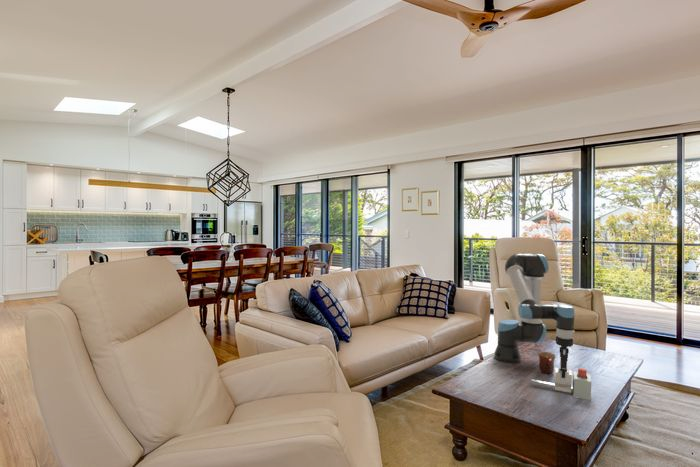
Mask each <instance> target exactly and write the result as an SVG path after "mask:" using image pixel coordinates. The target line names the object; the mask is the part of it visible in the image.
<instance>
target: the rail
mask: <svg viewBox="0 0 700 467" xmlns="http://www.w3.org/2000/svg"><path fill="white" fill-rule="evenodd" d="M530 386H532V387H535V386H536V388H540V389H541V388H542V389H546V390H551V391H557V392H562V393H567V394H572V395H573V386H571V393H569V392H564V391H559V390H555V382H548V381H543V380H538V379H534V378H533V379H532V378H531V379H530Z"/></svg>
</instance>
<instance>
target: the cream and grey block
mask: <svg viewBox="0 0 700 467" xmlns="http://www.w3.org/2000/svg"><path fill="white" fill-rule="evenodd" d="M559 369H561V368H560V367H554V370H555V371H554V372H555V374H554V383H555V390H554V391H556V390H559V391H558V392H561V391H564V392H563V393H566V392H569V393H568V394H571V387H572V382H573V374H572V373H573V372H572V370H571V369H568V368H567V377H566V385H565V384H560V371H559Z"/></svg>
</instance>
